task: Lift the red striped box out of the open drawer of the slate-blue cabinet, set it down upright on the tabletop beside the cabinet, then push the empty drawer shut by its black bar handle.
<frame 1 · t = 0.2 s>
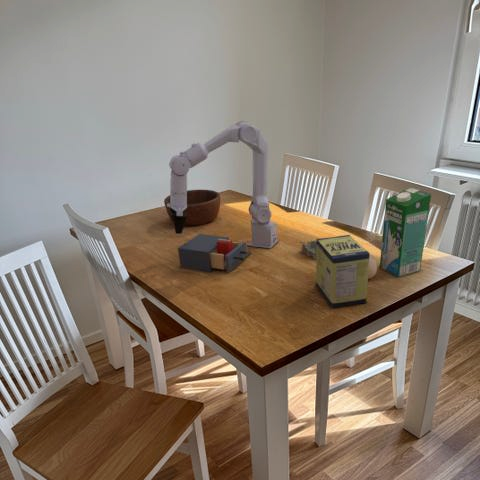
hand: (178, 230, 165), 11 cm above the table, tool pointing down, fingers open, 7 cm apart
milk carton: (399, 269, 148), on the table
drawer: (228, 255, 159), point 4 cm above the table, slide at 6.0 cm, touching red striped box
cabinet: (205, 261, 165), on the table
egg carton: (315, 254, 164), on the table
protein box: (339, 294, 137), on the table
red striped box: (226, 259, 160), point 2 cm above the table, touching drawer
egg: (367, 278, 144), on the table
wooden bowl: (194, 219, 207), on the table
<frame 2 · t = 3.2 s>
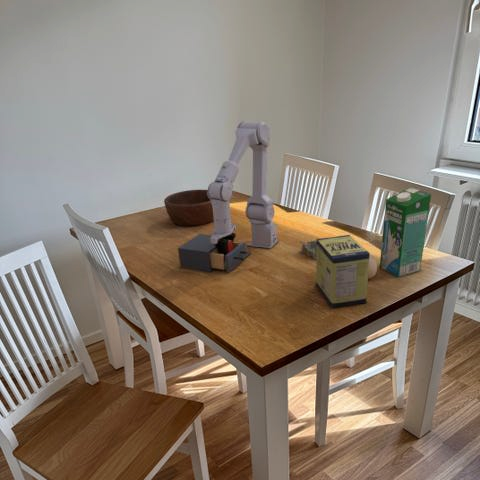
hand: (225, 255, 159), 3 cm above the table, tool pointing down, fingers closed on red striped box, 3 cm apart
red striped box: (226, 259, 160), point 2 cm above the table, touching drawer, gripper
everything else where it was.
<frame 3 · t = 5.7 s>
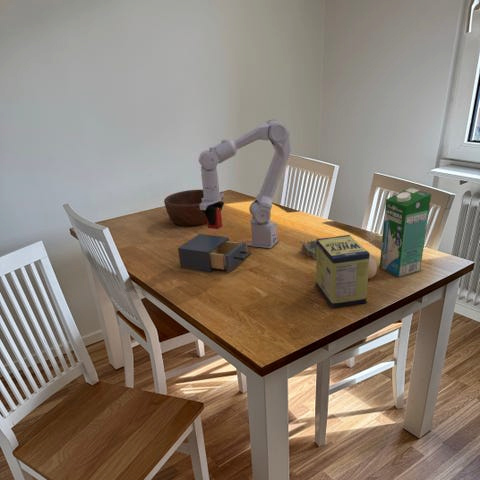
hand: (214, 223, 169), 10 cm above the table, tool pointing down, fingers closed on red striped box, 3 cm apart
drawer: (228, 255, 159), point 4 cm above the table, slide at 6.0 cm
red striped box: (215, 227, 169), point 9 cm above the table, touching gripper
everything else where it was.
when the fingers open (2 cm above the table, at t = 8.5 s): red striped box stays where it is, on the table.
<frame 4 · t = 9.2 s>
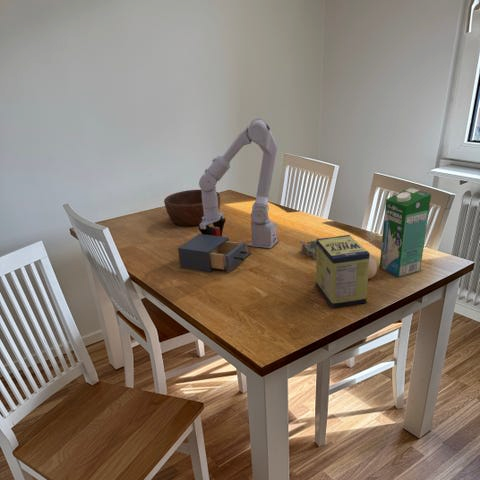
hand: (214, 240, 177), 2 cm above the table, tool pointing down, fingers open, 7 cm apart
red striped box: (214, 245, 178), on the table
everything else where it was.
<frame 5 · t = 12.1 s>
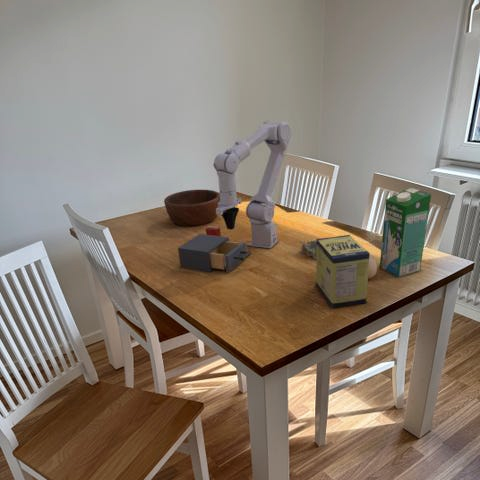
hand: (230, 228, 162), 10 cm above the table, tool pointing down, fingers closed
nothing on the table moved.
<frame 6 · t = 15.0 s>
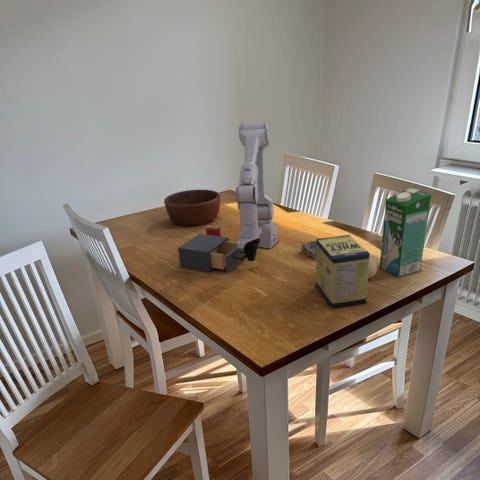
hand: (251, 260, 155), 3 cm above the table, tool pointing down, fingers closed, pressing on drawer
drawer: (228, 255, 159), point 4 cm above the table, slide at 5.9 cm, touching gripper
everything else where it was.
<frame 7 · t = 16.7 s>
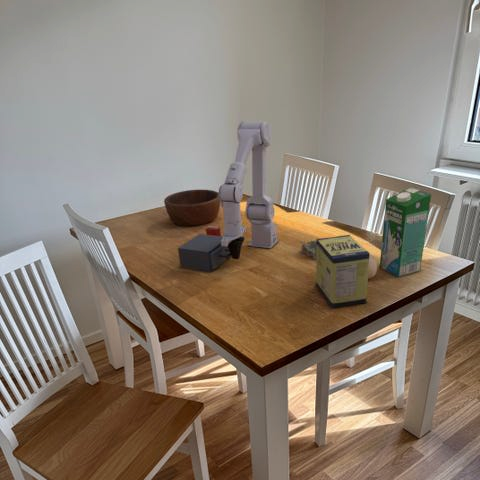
hand: (235, 258, 158), 3 cm above the table, tool pointing down, fingers closed, pressing on drawer
drawer: (213, 253, 161), point 4 cm above the table, slide at 0.0 cm, touching cabinet, gripper
everything else where it was.
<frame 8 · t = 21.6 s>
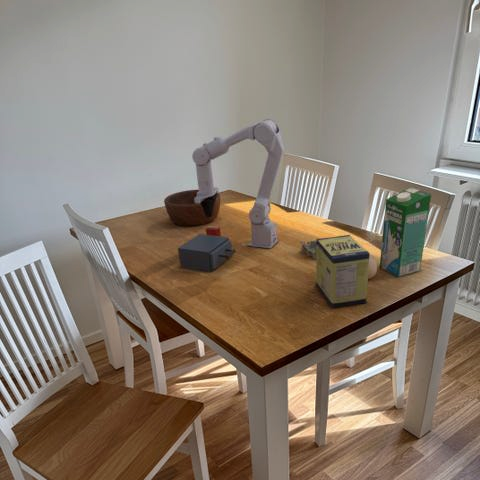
hand: (209, 216, 176), 10 cm above the table, tool pointing down, fingers closed
drawer: (213, 253, 161), point 4 cm above the table, slide at 0.0 cm, touching cabinet
everything else where it was.
at the end: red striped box inside the target area (0.0 cm from its centre), on the table; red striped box tilted 0°; drawer slide at 0.0 cm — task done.
